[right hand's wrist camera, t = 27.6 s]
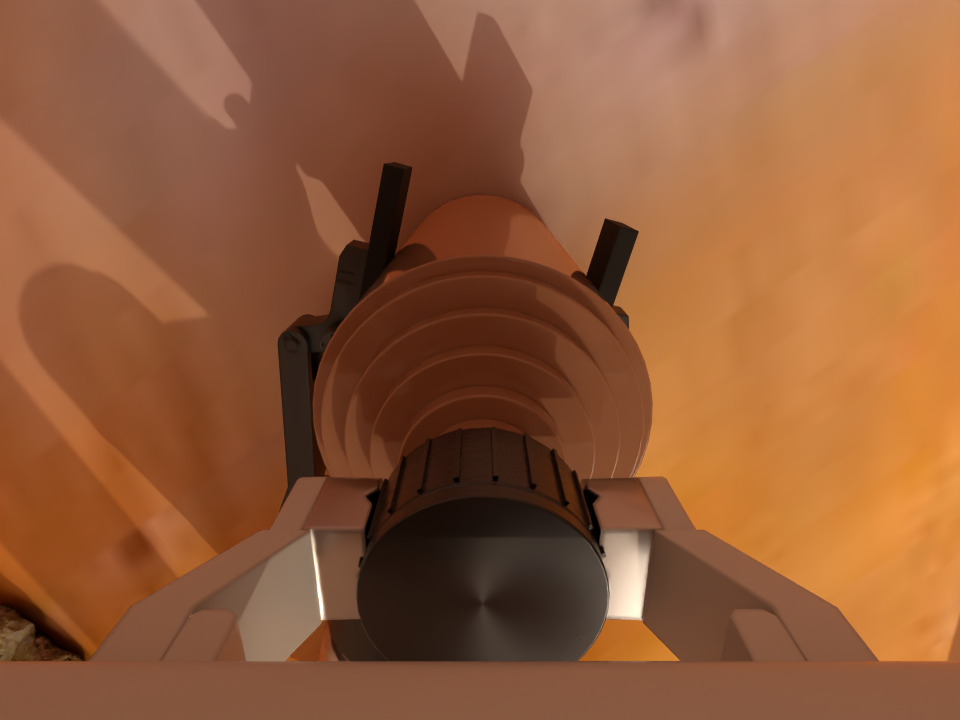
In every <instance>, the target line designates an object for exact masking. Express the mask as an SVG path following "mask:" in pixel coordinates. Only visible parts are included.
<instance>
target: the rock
mask: <svg viewBox="0 0 960 720" xmlns="http://www.w3.org/2000/svg"><path fill="white" fill-rule="evenodd" d="M0 661H85V660H84V659H83V658H82V657H80V656H79V655H77V654H75V653H71V652H69V651H67V650H64V649H62V648H61V647H59V646H58V645H56V644H54V643H53V642H52V641H50V640H49V638H48V637H47V636H45V635H44V634H42V633H40V632H37V631H36V630H35V625H34V624H33V623H32V622H30V621H28V620H26V619H24V618H22V616H21V614H20V612H17V610H16V609H12V608H11V607H8V606H5V605H2V606H0Z"/></svg>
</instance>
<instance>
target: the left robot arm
mask: <svg viewBox="0 0 960 720" xmlns="http://www.w3.org/2000/svg"><path fill="white" fill-rule="evenodd" d="M411 172H412V167H410V166H406V165H403V164H399V163H395V162H393V163H386V164H384V166H383V171H382V177H381V182H380V188H379V193H378V199H377V204H376V210H375V215H374V221H373V226H372V231H371V237H370V242H369V243H365V242H361V241H357V240H353V241H352V242H350V243H349V244H347V245H346V247H345V248H344V250H343V251H342V253H341V255H340V256H339V262H338V268H337V269H338V270H337V274H336V281H335V286H334V292H333V298H332V304H331V310H330V314H328V315H324V316H313V315H309V314H307V315H303V316H301V317H299V318H298V319H297V320H296V321H295V322H294V323H293V324H292V325H291V326H290V327H288V328H287V329H286V330H285V331H284V332H283V333H282V334H281V335H280V337H279V338H278V354H279V368H280V382H281V395H282V409H283V423H284V436H285V450H286V464H287V477H288V489H287V491H286V494H285V497H284V500H283V502H282V505H281V508H282V506H283V504H284V503H285V501H286V499H287V497H288V495H289V494H290V492H291V490H292V488H293V487H294V485H295V483H296V481H297V480H298V479H299V478H301V477H328V478H329V477H330V476H328V475H324V474H325V471H326V466H325V464H324V461H323V458H322V456H321V453H320V450H319V447H318V444H317V439H316V434H315V429H314V422H313V395H314V385H315V380H316V376H317V372H318V368H319V364H320V362H321V359H322V357H323V355H324V352H325V350H326V347H327V345H328V343H329V341H330V340H331V338H332V336H333V335H334V333H335V331H336V330H337V328H338V326H339V325H340V324H341V323H342V321H343V320H344V319H345V318H346V316H347V315H348V314H349V313H350V311H351V310H352V309H353V308H354V306H355V305H356V304H357V303H358V301H359V300H360V299H361V298H362V296H363V295H364V294H365V293H366V291H367V290H368V289H369V288H370V286H371V285H372V284H373V283H374V281H375V280H376V279H377V278H378V276H379V275H380V274H381V273H382V271H383V270H384V269H385V268H386V266H387V265H388V264H389V263H390V261H391V260H392V259H393V258H394V256H395V252H396V247H397V242H398V237H399V232H400V227H401V222H402V217H403V212H404V207H405V202H406V197H407V192H408V187H409V182H410V177H411ZM638 232H639V231H637V230H635V229H633V228H631V227H629V226H627V225H625V224H623V223H620V222H617V221H613V220H609V219H605V220H604V223H603V226H602V229H601V233H600V236H599V239H598V242H597V245H596V248H595V251H594V254H593V257H592V260H591V263H590V266H589V269H588V272H587V276H586V277H587V278H588V279H589V280H590V281H591V283H592V284H593V285H594V286H595V288H596V289H597V290H598V291H599V293H600V294H601V295H602V296H603V297H604V299H605V300H606V301H607V302H608V304H609V305H610V306H611V307H612V309H613V310H614V311H615V312H616V313H617V315H618V316H619V317H620V318H621V320H622V321H623V322H624V323H625V325H626V326H627V328H628V329H629V317H628V315H627V314H626V313H625V312H624V311H623V309H622V308H621V307H618V306H614V305H613V304H614V301H615V298H616V295H617V292H618V290H619V287H620V284H621V281H622V278H623V275H624V272H625V270H626V267H627V264H628V261H629V258H630V255H631V252H632V249H633V247H634V244H635V241H636V238H637V235H638ZM281 508H280V510H281ZM279 512H280V511H279ZM318 661H388V660H387V659H386V658H384V657H383V655H382V654H381V653H380V652H379V651H378V650H377V649H376V648H375V646H374V645H373V643H372V642H371V640H370V639H369V637H368V636H367V634H366V632H365V630H364V628H363V625H362V623H361V619H342V620H327V622H326V625H325V628H324V633H323V638H322V643H321V648H320V653H319V658H318Z"/></svg>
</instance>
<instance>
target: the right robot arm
mask: <svg viewBox="0 0 960 720" xmlns="http://www.w3.org/2000/svg"><path fill="white" fill-rule="evenodd" d="M382 483H383V479H382V478H354V477H329V478H328V477H301V478H299V479H298V480H297V481H296V483H295V485H294V487H293V488H292V490H291V492H290V494H289V495H288V497H287V499H286V501H285V503H284V504H283V506H282V508H281V510H280V512H279V513H278V515H277V517H276V519H275V520H274V522H273V524H272V526H271V528H270V529H269V530H260V531H258V532H257V533H255V534H253V535H252V536H250V537H248V538H246V539H245V540H243V541H241V542H240V543H238V544H236V545H234V546H233V547H231V548H229V549H228V550H226V551H224V552H223V553H221V554H219V555H217V556H216V557H214V558H212V559H211V560H209V561H207V562H206V563H204V564H202V565H200V566H199V567H197V568H195V569H194V570H192V571H190V572H189V573H187V574H185V575H183V576H182V577H180V578H178V579H177V580H175V581H173V582H171V583H170V584H168V585H166V586H165V587H163V588H161V589H160V590H158V591H156V592H154V593H153V594H151V595H149V596H148V597H146V598H144V599H143V600H141V601H139V602H137V603H136V604H134V605H132V606H131V607H130V608H129V609H128V610H127V612H126V613H125V614H124V615H123V617H122V618H121V619H120V621H119V622H118V623H117V625H116V626H115V627H114V628H113V630H112V631H111V632H110V634H109V635H108V636H107V637H106V639H105V640H104V641H103V643H102V644H101V645H100V647H99V648H98V649H97V650H96V652H95V653H94V654H93V656H92V657H91V658H90V660H89V661H0V720H960V661H879V660H878V659H877V658H876V657H875V655H874V654H873V653H872V651H871V650H870V649H869V648H868V646H867V645H866V644H865V642H864V641H863V640H862V639H861V637H860V636H859V635H858V633H857V632H856V631H855V630H854V628H853V627H852V626H851V624H850V623H849V622H848V621H847V619H846V618H845V617H844V615H843V614H842V613H841V612H840V610H839V609H838V608H837V607H835V606H834V605H832V604H830V603H829V602H827V601H825V600H823V599H822V598H820V597H818V596H817V595H815V594H813V593H811V592H810V591H808V590H806V589H805V588H803V587H801V586H800V585H798V584H796V583H794V582H793V581H791V580H789V579H788V578H786V577H784V576H782V575H781V574H779V573H777V572H776V571H774V570H772V569H770V568H769V567H767V566H765V565H764V564H762V563H760V562H758V561H757V560H755V559H753V558H752V557H750V556H748V555H746V554H745V553H743V552H741V551H740V550H738V549H736V548H734V547H733V546H731V545H729V544H728V543H726V542H724V541H722V540H721V539H719V538H717V537H716V536H714V535H712V534H710V533H709V532H707V531H705V530H696V529H695V527H694V525H693V524H692V522H691V520H690V519H689V517H688V515H687V513H686V512H685V510H684V508H683V507H682V505H681V503H680V501H679V500H678V498H677V496H676V495H675V493H674V491H673V489H672V488H671V486H670V484H669V483H668V481H667V479H666V478H664V477H662V476H660V477H636V478H599V479H581V487H582V491H583V494H584V497H585V501H586V504H587V507H588V508H589V509H591V510H592V516H591V521H592V524H593V528H594V531H595V535H596V538H597V541H598V545H599V548H600V550H601V549H604V551H605V554H606V557H603V562H604V565H605V569H606V572H607V576H608V580H609V590H610V598H609V608H608V612H607V616H606V619H622V620H643V623H644V624H645V625H646V626H647V627H648V628H649V629H650V630H651V631H652V632H653V633H654V634H655V635H656V636H657V637H658V638H659V639H660V640H661V641H662V642H663V643H664V644H665V645H666V646H667V647H668V648H669V649H670V650H671V651H672V652H673V654H674V655H675V656H676V657H677V658H678V659H679V660H680V661H285V660H286V659H287V658H288V657H289V656H290V655H291V654H292V653H293V652H294V651H295V650H296V649H297V648H298V647H299V646H300V645H301V644H302V643H303V642H304V641H305V640H306V639H307V638H308V637H309V636H310V635H311V634H312V633H313V632H314V631H315V630H316V629H317V627H318V626H319V625H320V624H321V623H322V620H342V619H360V616H359V613H358V608H357V600H356V588H357V580H358V576H359V571H360V568H359V567H358V563H359V560H363V558H364V554H365V550H366V547H367V544H368V540H369V539H368V538H367V534H368V531H369V527H370V524H371V521H372V517H373V514H374V510H375V507H376V504H377V500H378V497H379V493H380V490H381V487H382Z"/></svg>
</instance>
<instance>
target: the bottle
mask: <svg viewBox="0 0 960 720" xmlns="http://www.w3.org/2000/svg"><path fill="white" fill-rule="evenodd" d="M652 405H653V402H652V393H651V383H650V379H649V375H648V371H647V368H646V364H645V361H644V359H643V356H642V354H641V352H640V349H639V347H638V344H637V343H636V341H635V339H634V338H633V336H632V334H631V333H630V331H629V329H628V328H627V326H626V325H625V323H624V322H623V321H622V320H621V318H620V317H619V316H618V315H617V313H616V312H615V311H614V310H613V309H612V307H611V306H610V305H609V304H608V302H607V301H606V300H605V299H604V297H603V296H602V295H601V294H600V293H599V291H598V290H597V289H596V288H595V286H594V285H593V284H592V283H591V281H590V280H589V279H588V278H587V277H586V275H585V274H584V273H583V272H582V270H581V269H580V268H579V267H578V265H577V264H576V263H575V262H574V261H573V259H572V258H571V257H570V256H569V254H568V253H567V252H566V251H565V249H564V248H563V247H562V246H561V245H560V243H559V242H558V241H557V240H556V238H555V237H554V236H553V235H552V233H551V232H550V231H549V230H548V229H547V227H546V226H545V225H544V224H543V222H542V221H541V220H540V219H539V218H538V217H537V216H536V215H535V214H534V213H532V212H531V211H530V210H528V209H527V208H525V207H524V206H522V205H520V204H518V203H516V202H514V201H512V200H509V199H506V198H503V197H498V196H494V195H471V196H466V197H461V198H458V199H455V200H452V201H450V202H448V203H446V204H444V205H442V206H440V207H439V208H437V209H436V210H435V211H433V212H432V213H431V214H430V215H429V216H428V217H426V218H425V219H424V220H423V222H422V223H421V224H420V225H419V227H418V228H417V229H416V230H415V231H414V233H413V234H412V235H411V236H410V238H409V239H408V240H407V241H406V243H405V244H404V245H403V246H402V248H401V249H400V250H399V251H398V253H397V254H396V255H395V256H394V258H393V259H392V260H391V261H390V263H389V264H388V265H387V266H386V268H385V269H384V270H383V271H382V273H381V274H380V275H379V276H378V278H377V279H376V280H375V281H374V283H373V284H372V285H371V286H370V288H369V289H368V290H367V291H366V293H365V294H364V295H363V296H362V298H361V299H360V300H359V301H358V303H357V304H356V305H355V306H354V308H353V309H352V310H351V311H350V313H349V314H348V315H347V316H346V318H345V319H344V320H343V321H342V323H341V324H340V325H339V326H338V328H337V330H336V331H335V333H334V335H333V336H332V338H331V340H330V341H329V343H328V345H327V347H326V350H325V352H324V355H323V357H322V359H321V362H320V364H319V368H318V372H317V376H316V380H315V385H314V395H313V422H314V429H315V434H316V439H317V444H318V447H319V450H320V453H321V456H322V458H323V461H324V464H325V466H326V468H327V470H328V472H329V474H330V476H331V477H354V478H382V479H383V481H384V479H387V480H388V478H389V477H390V475H391V473H392V472H393V470H394V469H395V468H396V466H397V465H398V464H399V461H400V458H401V457H402V456H403V455H404V456H405V457H406V456H407V455H408V454H409V453H410V452H412V451H413V450H414V449H415V448H417V447H418V446H420V445H422V444H424V443H425V441H426V439H428V438H430V439H433V438H435V437H438V436H440V435H443V434H445V433H448V432H450V431H451V432H452V431H454V430H457V429H458V428H462V429H469V428H486V427H491V426H494V427H496V428H497V429H504V430H508V431H513V432H516V433H519V434H522V435H524V434H525V433H526V434H528V435H529V437H531V438H533V439H535V440H536V441H538V442H540V443H542V444H543V445H545V446H546V447H548V448H550V449H551V450H552V449H553V448H554V449H555V450H557V453H558V455H559V456H560V457H561V458H562V459H563V460H564V461H565V463H566V464H567V465H568V466H569V467H570V468H571V470H572V471H574V470H576V472H577V474H578V477H579V480H580V484H581V479H599V478H634V476H635V474H636V472H637V470H638V468H639V466H640V464H641V462H642V459H643V456H644V453H645V450H646V447H647V445H648V440H649V435H650V430H651V425H652Z"/></svg>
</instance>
